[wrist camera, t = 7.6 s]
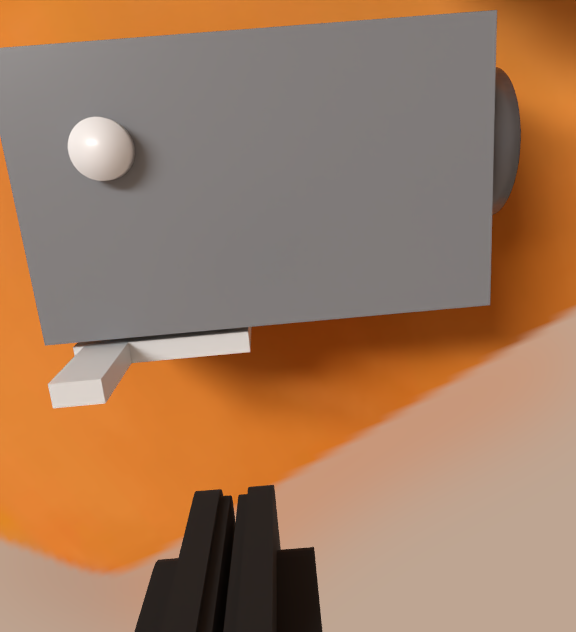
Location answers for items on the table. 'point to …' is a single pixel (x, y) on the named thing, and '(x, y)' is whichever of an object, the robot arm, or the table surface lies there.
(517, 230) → the table surface
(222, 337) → the hatch
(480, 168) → the housing
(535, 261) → the table surface
